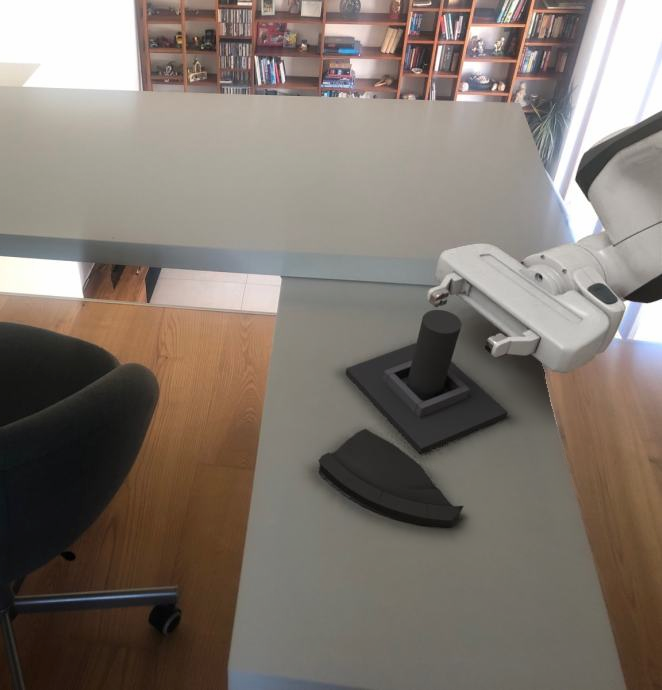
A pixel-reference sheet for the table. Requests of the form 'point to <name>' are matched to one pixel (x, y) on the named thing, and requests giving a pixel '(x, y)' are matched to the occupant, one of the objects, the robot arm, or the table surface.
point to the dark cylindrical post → (433, 353)
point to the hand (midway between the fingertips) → (459, 322)
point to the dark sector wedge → (386, 481)
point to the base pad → (424, 401)
